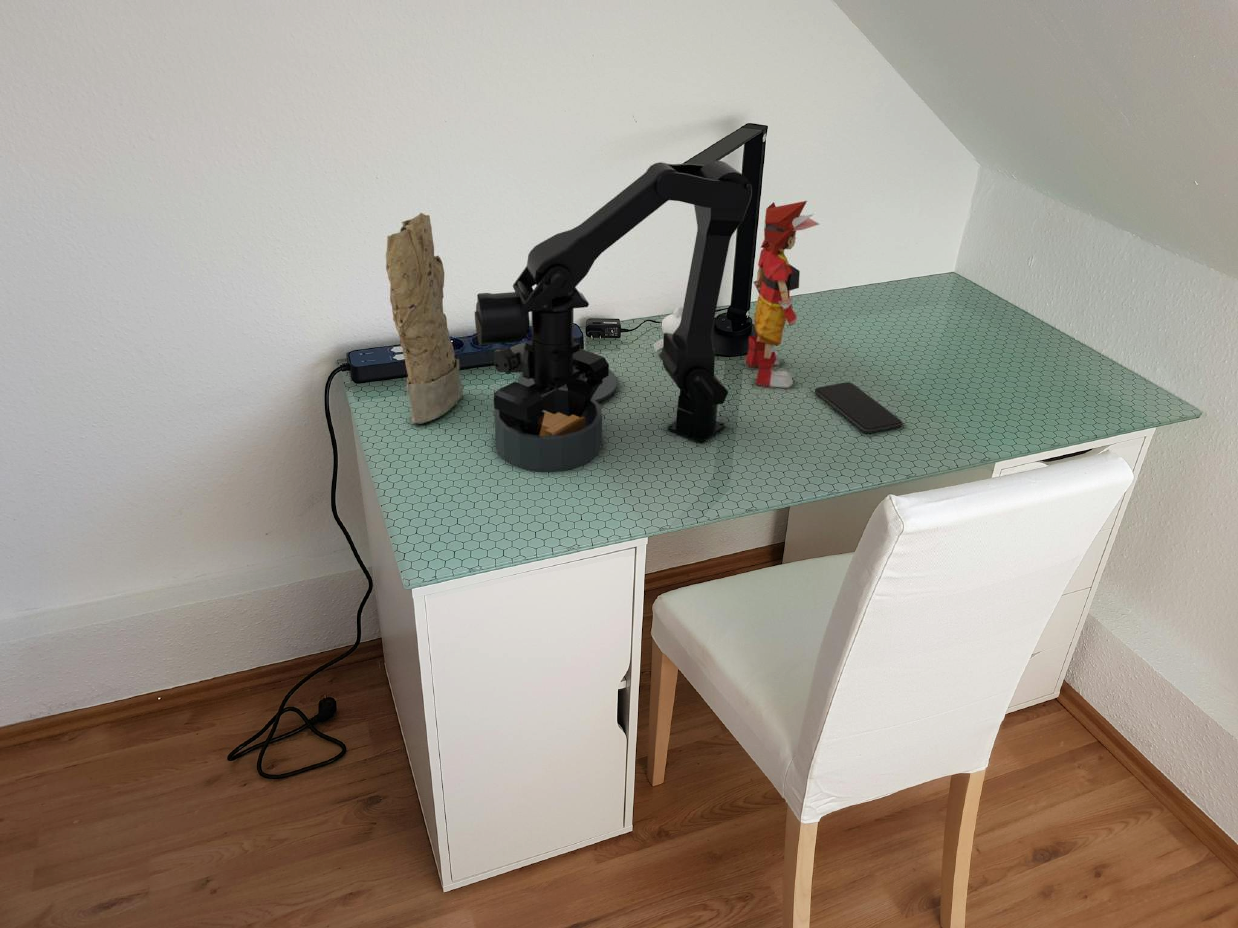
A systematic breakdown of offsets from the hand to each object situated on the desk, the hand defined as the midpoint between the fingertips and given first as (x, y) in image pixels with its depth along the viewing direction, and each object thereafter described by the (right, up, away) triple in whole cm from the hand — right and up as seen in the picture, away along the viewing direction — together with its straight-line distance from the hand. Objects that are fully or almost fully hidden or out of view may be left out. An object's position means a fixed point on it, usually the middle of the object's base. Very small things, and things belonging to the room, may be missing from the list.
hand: (553, 435), depth 143 cm
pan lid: (+1, +9, +17) cm, 19 cm away
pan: (-1, -1, +1) cm, 2 cm away
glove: (-20, +5, +11) cm, 23 cm away
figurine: (+19, +12, +25) cm, 34 cm away
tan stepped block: (-1, -1, +1) cm, 2 cm away
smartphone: (+47, +4, +13) cm, 49 cm away
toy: (+35, +11, +24) cm, 44 cm away
